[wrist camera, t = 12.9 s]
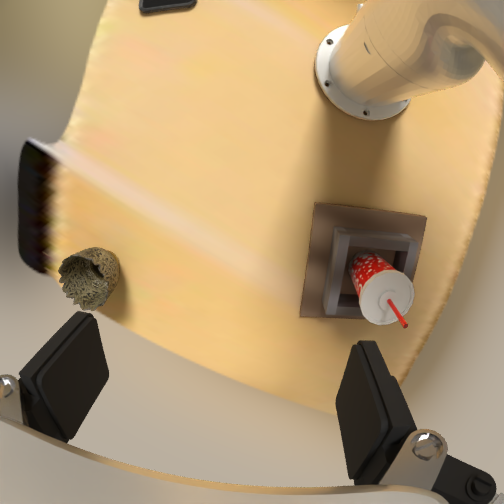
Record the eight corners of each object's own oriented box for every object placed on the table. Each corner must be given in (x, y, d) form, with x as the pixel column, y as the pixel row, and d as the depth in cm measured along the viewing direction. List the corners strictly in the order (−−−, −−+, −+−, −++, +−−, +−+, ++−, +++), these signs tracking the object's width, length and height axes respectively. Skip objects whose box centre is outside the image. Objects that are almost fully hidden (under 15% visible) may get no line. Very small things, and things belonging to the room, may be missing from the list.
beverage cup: (349, 239, 37) (387, 290, 23) (393, 248, 37) (444, 299, 23) (337, 285, 39) (364, 351, 25) (379, 291, 39) (419, 355, 25)
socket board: (314, 202, 36) (320, 209, 32) (423, 215, 36) (439, 224, 32) (299, 312, 41) (302, 330, 37) (399, 316, 41) (410, 333, 37)
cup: (103, 290, 42) (77, 317, 35) (80, 247, 40) (49, 267, 33) (141, 275, 41) (117, 302, 33) (117, 227, 39) (87, 246, 31)
